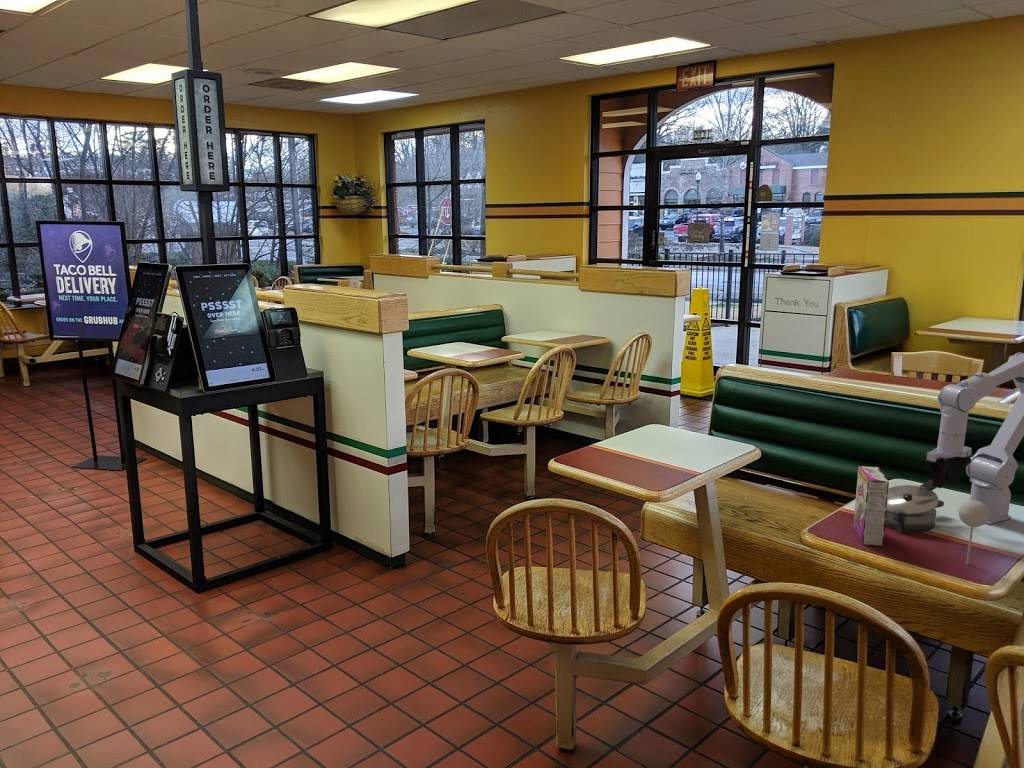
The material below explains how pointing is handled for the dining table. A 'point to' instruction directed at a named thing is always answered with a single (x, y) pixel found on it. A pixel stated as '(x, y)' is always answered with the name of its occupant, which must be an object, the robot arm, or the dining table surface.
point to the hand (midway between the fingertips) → (945, 485)
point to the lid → (912, 499)
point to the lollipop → (973, 517)
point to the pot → (913, 520)
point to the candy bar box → (871, 505)
